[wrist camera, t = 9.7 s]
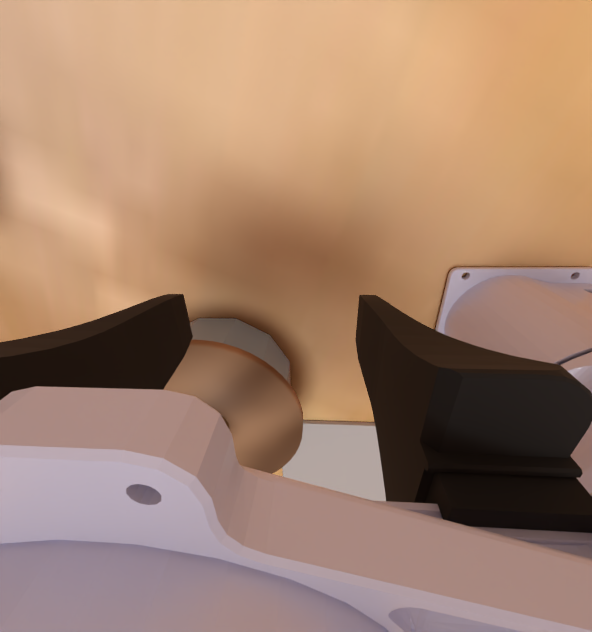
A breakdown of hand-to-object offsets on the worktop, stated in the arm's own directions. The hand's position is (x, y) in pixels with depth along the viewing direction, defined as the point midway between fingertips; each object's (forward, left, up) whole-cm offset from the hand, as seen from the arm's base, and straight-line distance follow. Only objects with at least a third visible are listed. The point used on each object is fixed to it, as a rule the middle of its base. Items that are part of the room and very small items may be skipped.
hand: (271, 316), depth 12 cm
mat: (-7, +25, -9) cm, 28 cm away
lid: (+6, +11, -5) cm, 14 cm away
